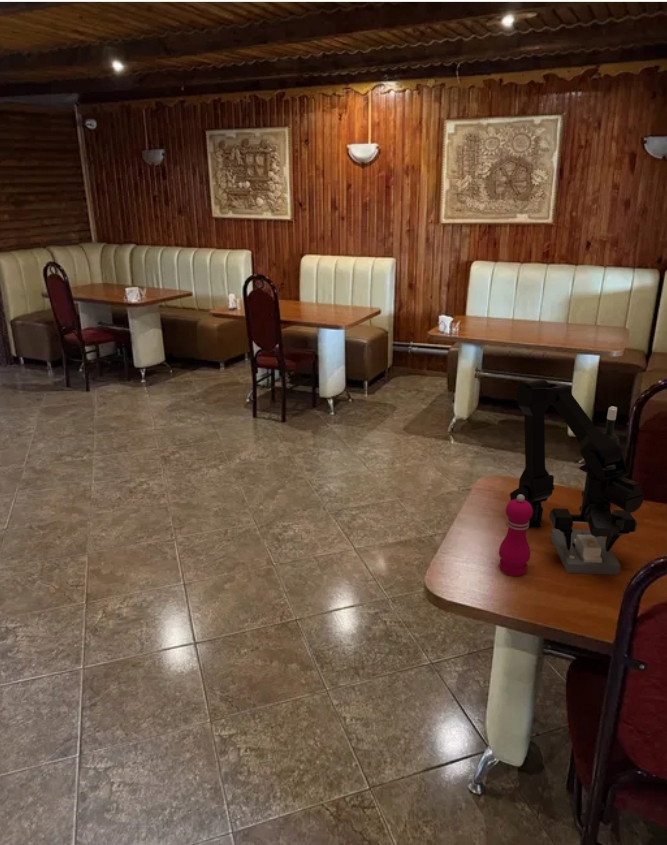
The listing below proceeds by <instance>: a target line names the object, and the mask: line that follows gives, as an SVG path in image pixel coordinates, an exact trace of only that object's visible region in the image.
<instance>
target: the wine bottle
mask: <svg viewBox="0 0 667 845" xmlns="http://www.w3.org/2000/svg"><path fill="white" fill-rule="evenodd" d="M617 413H618V406H612V405H610V406H609V407H608V410H607V416H606V424H605V431H602V433H604V434H606V435H608V436H610V437H611V438H612V439H613V440H614V441H615V442H616V443H617V444H618V446H619V445H620V439H619V436H618V435H616V434H615V433H614V429H615V424H616V419H617ZM619 447H620V446H619ZM615 468H616V466H611V467H607V468H603V469H605V470H607V471H608V470H612V469H615Z"/></svg>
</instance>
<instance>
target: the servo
mask: <svg viewBox="0 0 667 845" xmlns="http://www.w3.org/2000/svg"><path fill="white" fill-rule="evenodd" d="M581 534H582V535H577V537H576V539H574V544H575V551H576V553H577V555H578V557H579V559H580V560H584V562H596V563H602V558H601V557H600V555H601V549H602V548H601V547H600V545H599V543H598V542H597V540H596V538H595V537H594V536H592V535H585V534H584V532H582V533H581Z"/></svg>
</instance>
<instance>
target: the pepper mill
mask: <svg viewBox="0 0 667 845" xmlns="http://www.w3.org/2000/svg"><path fill="white" fill-rule="evenodd" d="M505 514H506V516H507V518H506V520H507V521H506V525H507V526H508V527H507V532H506V535H505V537H504V538H503V540H502V542H501V543H500V546H499V550H498V555H499V558H500V561H499V570H501V572H503V574H505V575H508V576H511V577H519V576H523V575H525V574H526V572H527V568H528V562H529V561H530V559H531V549H530V546H529V542H528V540H527V529H529V519H530V518H531V517H532V514H533V509H532V506H531V504H530V503H529V502H527V501H526V500H525V497H524V496H523V495H521V494H520V495H518V496H517V499H514V500H511V499H510V501H508V503H507V505H506V508H505Z"/></svg>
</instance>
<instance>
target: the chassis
mask: <svg viewBox="0 0 667 845" xmlns="http://www.w3.org/2000/svg"><path fill="white" fill-rule="evenodd" d="M572 530H573V532H572V534H571V547H570V550H567V547H566V543H565V539H564V535H563V532H561V531H559V529H556V528H551V529H550V539H551V543H552V544H553V546H554V548H555V550H556V552H557V555H558V556H559V559H560V561H561V564H562V565H563V567H564V570H565V572H566V574H583V575H584V574H586V575H611V576H612V575H613V576H615V575H616V576H617V575H619V574H620V570H621V564H620V562H619V560H618V559H617V557H616V556H615V554H614V553H613V551H612V548H611V549H610V550H609V552H607V551H606V549H605V548H606V539H605V538H604V537H603V536H599V537H595V538H596V540H597V542H598V543H599V545H600V547H601V548H602V549H601V555H600V557H601V558H602V563H596V562H584V560H580V559H579V557H578V555H577V553H576V551H575V544H574V539H576V537H577V535H582V534H581V533H582V532H584V534H585V535H591V533H590V529H573V528H572Z"/></svg>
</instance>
